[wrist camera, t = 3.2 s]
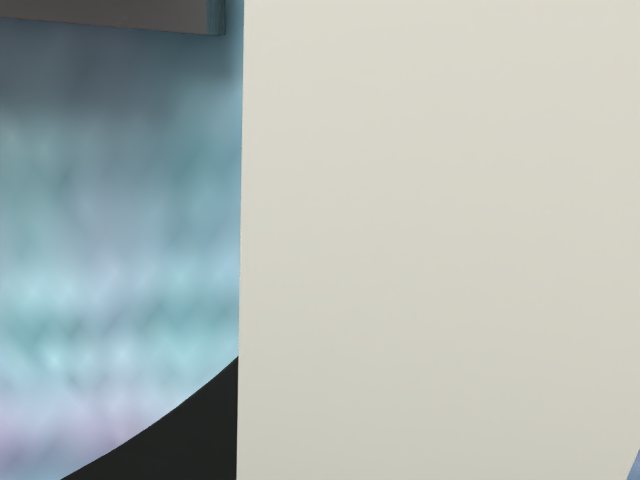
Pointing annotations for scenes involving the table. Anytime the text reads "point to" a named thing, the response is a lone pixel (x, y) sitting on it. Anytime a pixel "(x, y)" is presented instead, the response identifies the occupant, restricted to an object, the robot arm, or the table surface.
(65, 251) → the table surface
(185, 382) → the table surface
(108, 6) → the rack
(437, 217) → the blanking panel
